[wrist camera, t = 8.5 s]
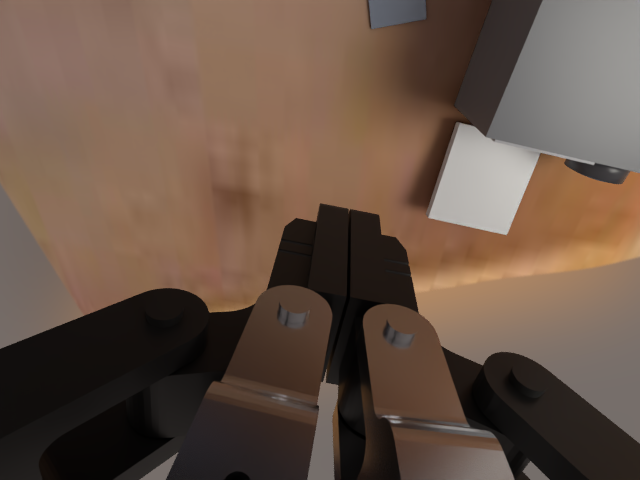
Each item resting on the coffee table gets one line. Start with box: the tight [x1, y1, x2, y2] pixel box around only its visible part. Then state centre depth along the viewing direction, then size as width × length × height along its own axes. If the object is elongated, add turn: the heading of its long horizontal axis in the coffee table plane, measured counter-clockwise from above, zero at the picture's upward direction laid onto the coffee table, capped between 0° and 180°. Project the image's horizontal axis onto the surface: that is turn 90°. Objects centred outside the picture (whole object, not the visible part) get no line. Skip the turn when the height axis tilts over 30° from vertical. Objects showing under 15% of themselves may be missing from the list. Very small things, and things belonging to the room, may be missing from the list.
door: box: [426, 122, 540, 235], centre depth 35 cm, size 1×7×8 cm
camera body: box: [454, 0, 640, 184], centre depth 28 cm, size 12×12×10 cm
